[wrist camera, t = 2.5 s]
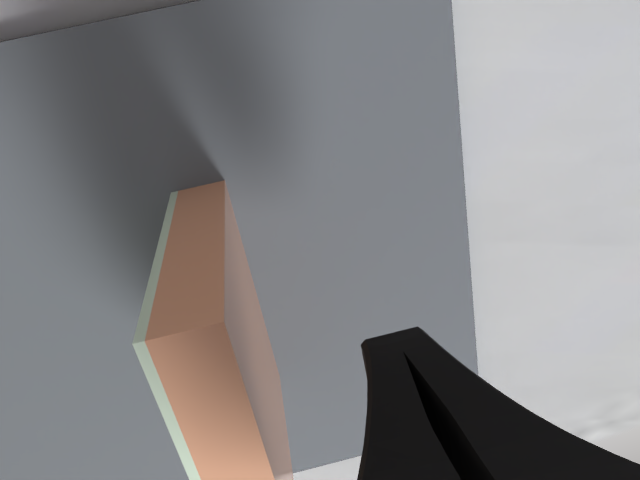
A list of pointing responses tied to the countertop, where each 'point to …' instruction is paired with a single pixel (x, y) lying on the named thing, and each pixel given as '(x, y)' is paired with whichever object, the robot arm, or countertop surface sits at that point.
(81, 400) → the mat
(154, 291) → the tile
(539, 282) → the countertop surface
